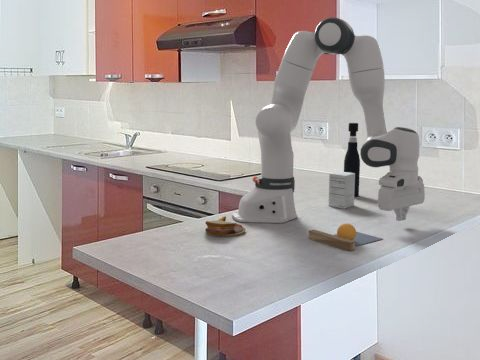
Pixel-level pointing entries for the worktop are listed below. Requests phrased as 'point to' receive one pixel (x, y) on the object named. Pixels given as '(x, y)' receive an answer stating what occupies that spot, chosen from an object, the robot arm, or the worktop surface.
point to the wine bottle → (353, 156)
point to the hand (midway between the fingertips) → (401, 220)
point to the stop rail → (332, 240)
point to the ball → (346, 231)
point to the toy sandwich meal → (224, 228)
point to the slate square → (363, 239)
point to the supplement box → (341, 189)
